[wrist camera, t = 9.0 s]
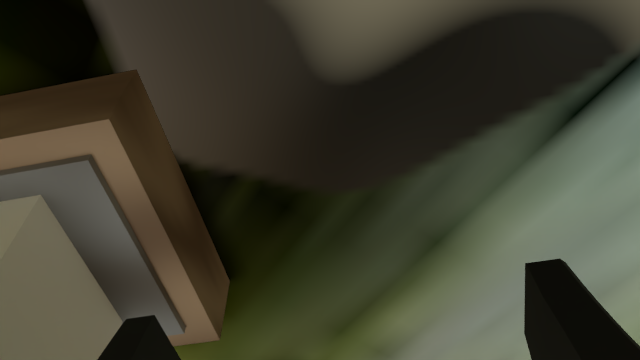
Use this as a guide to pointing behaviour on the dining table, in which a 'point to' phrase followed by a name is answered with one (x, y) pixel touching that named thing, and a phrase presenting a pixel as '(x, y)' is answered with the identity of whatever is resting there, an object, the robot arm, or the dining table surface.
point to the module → (47, 290)
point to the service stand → (117, 199)
